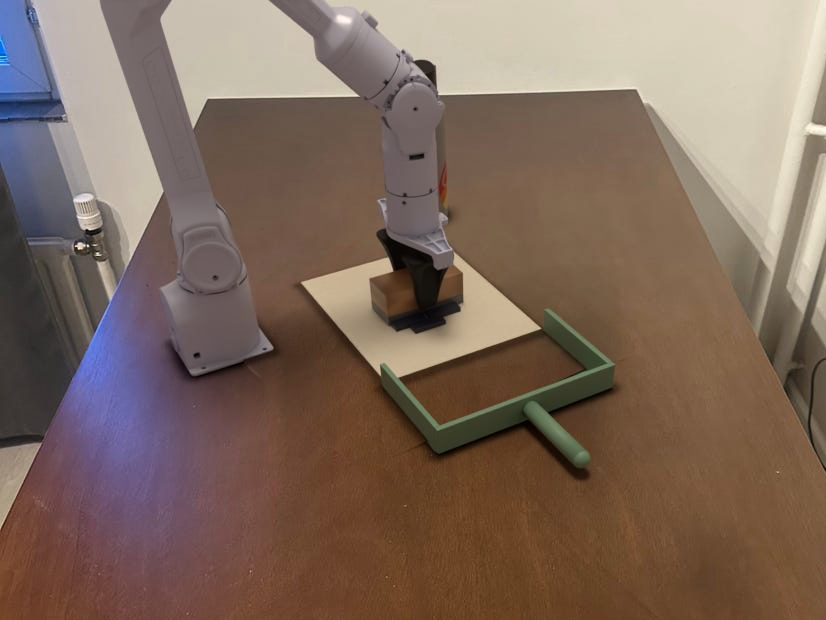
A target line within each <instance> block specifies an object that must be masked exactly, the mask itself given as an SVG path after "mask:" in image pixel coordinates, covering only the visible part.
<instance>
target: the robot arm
mask: <svg viewBox="0 0 826 620" xmlns="http://www.w3.org/2000/svg"><path fill="white" fill-rule="evenodd" d="M172 1H173V0H99V5H100V10H101V12H102V15H103V18H104V21H105V25H106V27H107V31H108V33H109V35H110V38H111V42H112V44H113V47H114V51H115V53H116V56H117V59H118V63H119V65H120V68H121V70H122V74H123V76H124V79H125V82H126V86H127V88H128V91H129V95H130V96H131V100H132V103H133V105H134V108H135V112H136V114H137V118H138V120H139V124H140V126H141V129H142V132H143V135H144V138H145V141H146V144H147V146H148V150H149V152H150V155H151V158H152V161H153V164H154V167H155V170H156V173H157V176H158V178H159V179H158V180H159V182H160V184H161V185H160V186H161V188H162V190H163V194H164V196H165V199H166V203H167V205H168V209H169V212H170V217H169V223H168V224H169V226H168V227H169V231H170V236H171V238H172V240H173V243H174V244H173V245H174V248H175V253H176V256H177V267H178V269H177V271H176V278H175V279H174V280H172V281H171V282H169V283H166V284H165V285H163V286H160V287H159V288H158V296H159V300H160V303H161V307H162V311H163V314H164V318H165V321H166V325H167V329H168V333H169V335H170V342H171V344H172V346H173V348H174V350H175V352H177V354H178V356H179V358H180V359H181V362H183V364H184V366H185V368H186V369H187V370H188V372H189V374H190V375H191V377H197V376H201V375H204V374H207V373H210V372H213V371H218V370H220V369H224V368H227V367H230V366H232V365H233V366H234V365H236V364H239V363H242V362H245V360H247V359H251V358H253V357H256V356H259V355H263V354H266V353H269V352H272V351H273V350H274V346H273V344H272V343H271V342H270V341H269V339H268V337H266V335H265V334H264V332H263V331H262V329H261V328H260V327H259V322H258V318H257V314H256V313H257V312H256V309H255V304H254V298H253V294H252V289H251V284H250V279H249V275H248V269H247V265H246V264H245V262H244V260H243V255H242V253H241V251H240V249H239V247H238V246H237V243H236V240H235V237H234V233H233V231H232V223H231V220H230V217H229V215H228V213H227V211H226V210H225V208H223V206H222V205H220V204H219V202H218V201H217V200H216V199H215V197H214V194H213V191H212V186H211V184H210V181H209V177H208V174H207V170H206V168H205V167H206V166H205V163H204V161H203V157H202V154H201V150H200V147H199V144H198V141H197V138H196V134H195V131H194V128H193V125H192V120H191V117H190V114H189V111H188V108H187V104H186V101H185V97H184V94H183V91H182V88H181V85H180V81H179V78H178V75H177V72H176V68H175V64H174V61H173V58H172V54H171V52H170V48H169V44H168V42H167V38H166V35H165V31H164V28H163V25H162V19H161V18H162V16H163V15H164V13H165V11H166V10H167V9H168V7H169V5H170V4H171V3H172ZM268 1H269V2H270V3H271V4H272V5H274V6H275V7H276V8H277V9H279V10H280V11H281V12H282V13H283V14H284V15H286V16H287V17H288V18H289V19H290V20H292V21H293V22H294V23H296V24H297V25H298V26H299V27H300V28H301V29H303V30H304V31H305V32H306V33H307V34H309V35H310V36H311V37H312V39H313V40H312V41H313V45H314V46H313V47H314V55H315V58H316V60H317V61H318V62H319V63H320V64H321V65H322V66H324V67H325V68H326V69H327V70H328V71H330V73H332V74H333V75H334V76H335V77H336V78H337V79H339V80H340V82H342V83H343V84H344V85H345V86H347V88H349V89H350V90H351V91H352V92H354V94H356V95H357V96H358V97H360V98H361V99H362V100H363V101H364V102H365V103H367V104H371V105H373V107H374V109H376V110H379V111H380V113H381V115H382V116H381V117H380V127H381V129H380V130H381V156H382V167H383V169H382V170H383V179H384V180H383V181H384V191H385V192H384V195H385V197H384V198H381V199H377V200H376V205H377V216H378V217H379V218H380V219H383V223H384V228H381V229H378V230H377V231H376V232H375V236H376V238H377V239H378V240H379V243H380V244H381V245H382V247H383V249H384V251H385V253H386V255H387V257H389V260H390V263H391V265H392V268H393V271H396V270H400V269H403V268H407V269H408V271H409V273H410V275H411V278H412V282H413V286H414V291H415V297H416V301H417V304H418V306H419V308H420V309H421V310H423V309H426V308H429V307H433V306H436V304H437V300H438V296H439V292H440V288H441V284H442V281H443V278H444V276H445V273H446V271H447V269H448V268H449V267H450V266H453V265H454V262H453V260H454V252H455V251H454V248H453V247H451V245H450V244H449V243H448V239H447V235H446V234H445V230H444V228H443V227H444V226H447V225H448V224H449V217H448V216H447V217H446V216H445V215H444V214H443V213H440V212H439V204H438V175H437V144H436V137H435V128H436V127H437V125H438V124H439V122H440V120H441V118H442V115H443V110H444V106H445V103H444V104H442V103H441V102H440V100H441V97H440V96H439V90H438V88H437V89H436V87H435V85H434V84H433V83H432V82H431V81H430V80H429V79H428V78H427V76H426V75H425V74H424V73H423V72H422V71H421V70H420V68H419V67H418V66H416V65H415V62H414V61H415V60H414V57H413V55H412V54H411V53H410V52H408V51H407V50H406V49H405V48H402V49H398V47H396V46H395V45H394V44H393V43H392V41H390V40H389V39H388V38H387V37H386V36H385V35H384V34H383V33H382V32H381V31H379V29H377V26H378V25H379V21H378V20H377V19H376V18H375V17H374V16H373V15H372V14H371V13H370V11H368V10H367V9H364V10H363V11H362V13H361V12H360V11H358V10H357V8H355V7H354V6H349V5H347V6H331V5H330V4H329V3H328V2H327V1H326V0H268ZM453 251H454V252H453Z"/></svg>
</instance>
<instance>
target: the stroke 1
mask: <svg viewBox="0 0 826 620" xmlns="http://www.w3.org/2000/svg"><path fill="white" fill-rule="evenodd" d="M426 318H427V317H426V316H425V315H424V314H423V313H422V312H420V313H416V314H413V315H410V316H407V317H404V318H401V319H398V320H394V321H391V326H392V327H393V328H394V329H395V330H396V331H397V332H398V331H401V330H404V329H407V328H410V324H411V323H414V322H417V321H420V320H423V319H426Z"/></svg>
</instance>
